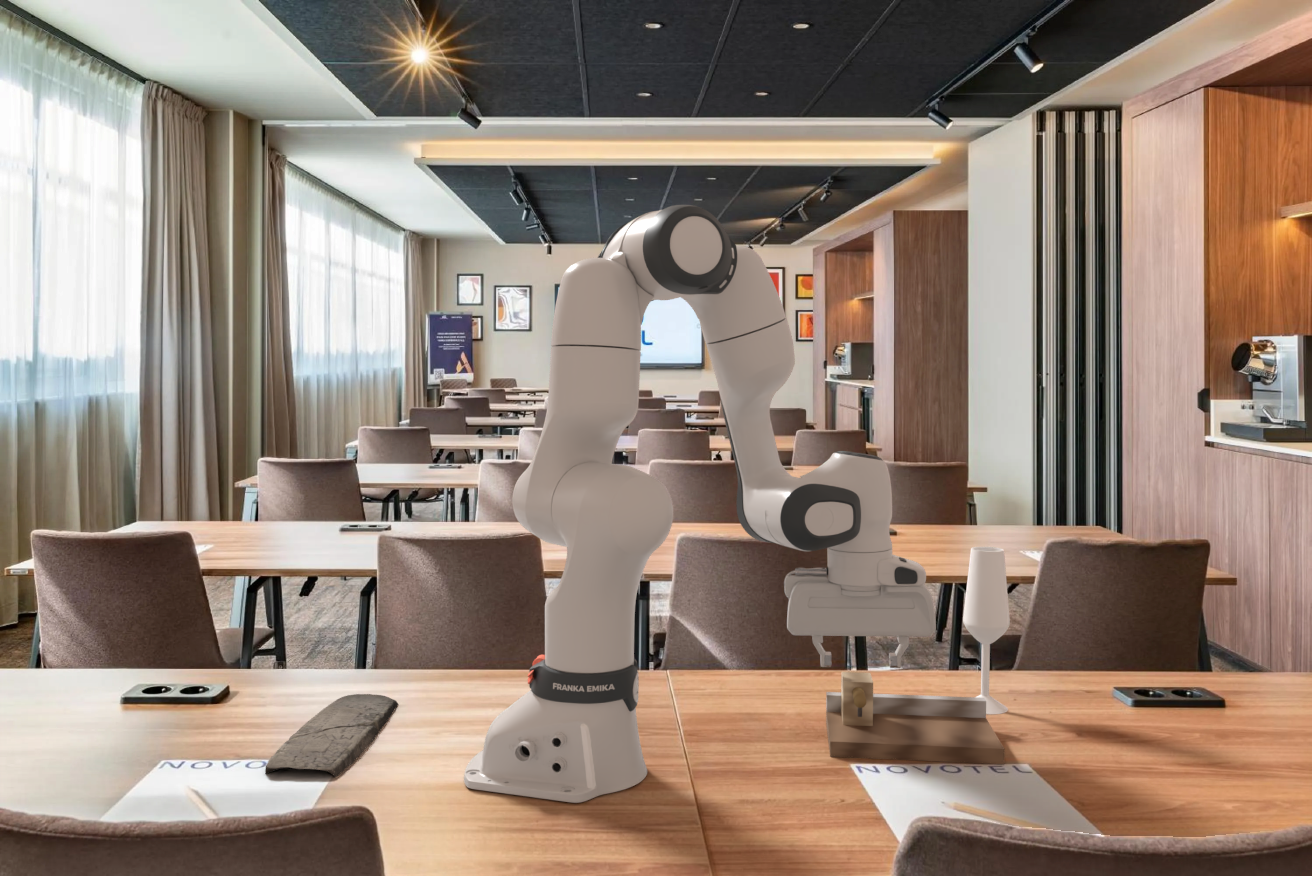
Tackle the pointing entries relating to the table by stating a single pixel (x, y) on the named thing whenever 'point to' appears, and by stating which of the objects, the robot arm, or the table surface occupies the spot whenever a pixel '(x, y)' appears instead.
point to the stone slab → (335, 734)
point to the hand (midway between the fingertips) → (860, 666)
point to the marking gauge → (857, 698)
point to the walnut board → (916, 730)
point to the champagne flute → (987, 610)
